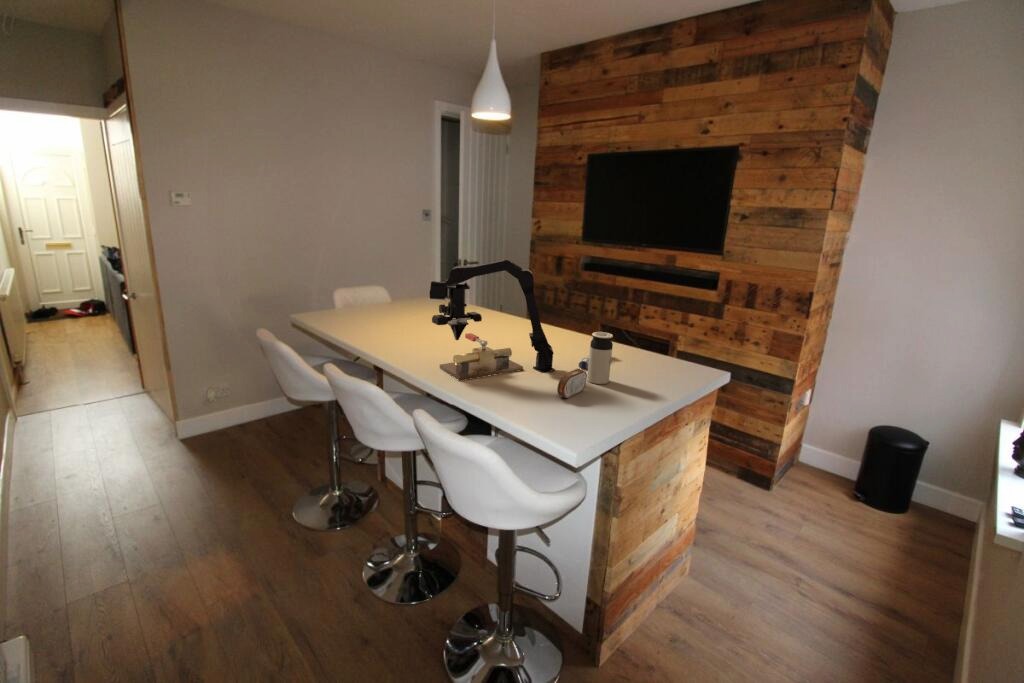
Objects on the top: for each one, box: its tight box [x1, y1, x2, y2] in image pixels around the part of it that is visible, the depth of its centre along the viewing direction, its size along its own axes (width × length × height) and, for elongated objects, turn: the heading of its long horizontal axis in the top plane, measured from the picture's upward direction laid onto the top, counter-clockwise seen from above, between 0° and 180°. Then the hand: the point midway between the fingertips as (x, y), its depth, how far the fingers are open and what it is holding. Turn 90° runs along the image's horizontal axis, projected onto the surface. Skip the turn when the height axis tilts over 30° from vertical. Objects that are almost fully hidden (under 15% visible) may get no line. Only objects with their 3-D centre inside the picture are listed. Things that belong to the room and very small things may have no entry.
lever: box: [464, 333, 489, 346], centre depth 187 cm, size 14×3×2 cm, turn 34°
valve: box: [439, 345, 524, 382], centre depth 185 cm, size 16×28×10 cm, turn 124°
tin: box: [557, 368, 588, 399], centre depth 164 cm, size 15×3×8 cm, turn 141°
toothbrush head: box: [578, 355, 589, 371], centre depth 202 cm, size 5×7×25 cm
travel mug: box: [586, 331, 614, 385], centre depth 177 cm, size 8×8×18 cm
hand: (456, 340), depth 186 cm, fingers closed
